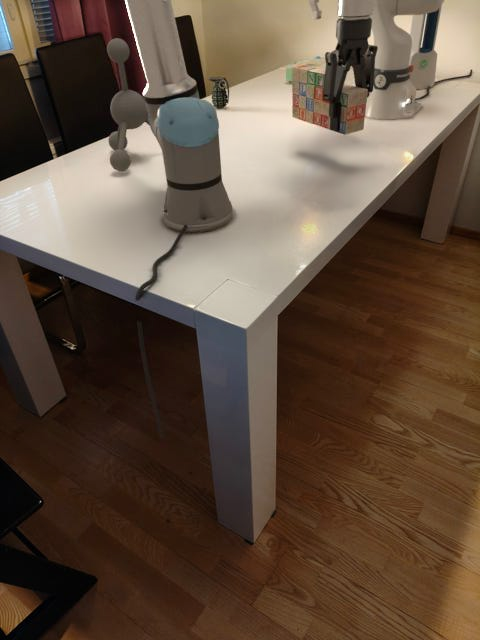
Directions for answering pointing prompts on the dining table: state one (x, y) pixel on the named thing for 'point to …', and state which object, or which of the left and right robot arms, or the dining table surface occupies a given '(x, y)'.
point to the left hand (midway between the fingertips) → (345, 127)
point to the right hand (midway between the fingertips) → (331, 17)
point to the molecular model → (124, 108)
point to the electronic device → (424, 49)
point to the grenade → (219, 92)
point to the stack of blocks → (316, 109)
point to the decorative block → (316, 60)
